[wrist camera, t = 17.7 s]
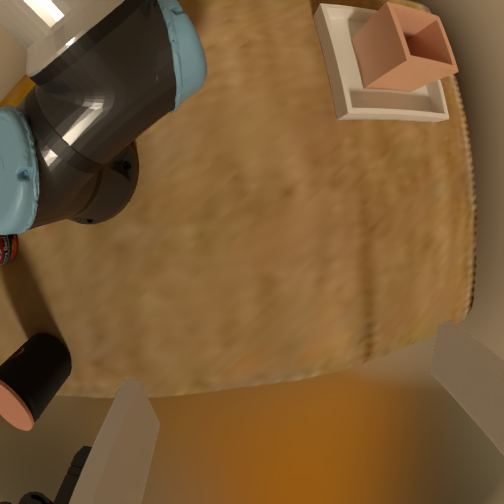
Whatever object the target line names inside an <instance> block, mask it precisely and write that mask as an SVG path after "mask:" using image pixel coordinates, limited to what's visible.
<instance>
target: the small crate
mask: <svg viewBox="0 0 504 504" xmlns="http://www.w3.org/2000/svg"><path fill="white" fill-rule="evenodd" d="M351 42H352V46H353V49H354V53H355V57H356V60H357V64H358V68H359V72H360V77H361V81H362V85H363V89H379V90H392V91H402V92H411V91H414V90H416V89H418V88H421V87H423V86H425V85H427V84H430V83H432V82H435V81H437V80H439V79H442V78H444V77H447V76H449V75H452V74H454V73H457V72H458V68H457V65H456V62H455V59H454V56H453V53H452V50H451V47H450V44H449V41H448V38H447V36H446V33H445V30H444V28H443V26H442V23H441V21H440V18H439V16H435V15H433V14H430V13H427V12H423V11H420V10H417V9H413V8H410V7H406V6H402V5H398V4H394V3H390V2H385V3H384V4H383V5H382V6H381V8H380V9H379V10H378V11H377V12H376V13H375V14H374V15H373V16H372V17H371V18H370V19H369V20H368V21H367V23H366V24H365V25H364V26H363V27H362V28H361V29H360V30H359V31H358V32H357V34H356V35H355V36H354V37H353V38H352V39H351Z"/></svg>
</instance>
